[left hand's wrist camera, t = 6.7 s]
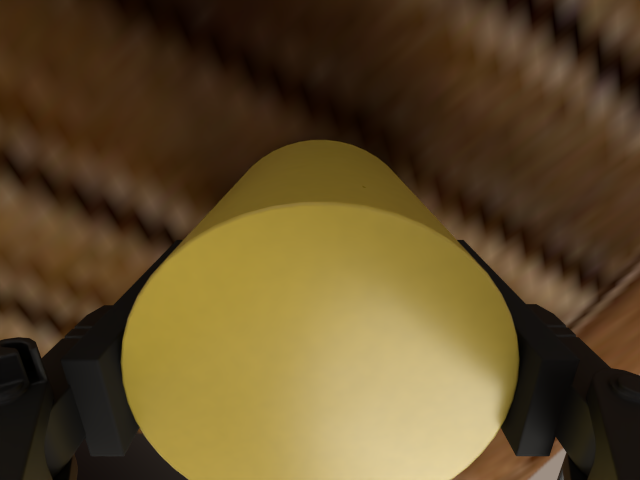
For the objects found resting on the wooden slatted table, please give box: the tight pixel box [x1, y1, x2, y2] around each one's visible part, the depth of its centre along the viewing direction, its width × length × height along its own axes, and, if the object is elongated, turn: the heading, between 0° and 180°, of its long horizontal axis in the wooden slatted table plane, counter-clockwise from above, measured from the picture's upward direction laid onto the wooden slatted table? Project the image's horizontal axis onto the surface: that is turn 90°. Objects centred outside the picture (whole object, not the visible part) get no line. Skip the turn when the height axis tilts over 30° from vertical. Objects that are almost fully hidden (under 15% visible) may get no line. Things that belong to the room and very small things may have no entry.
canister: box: [121, 140, 519, 480], centre depth 13 cm, size 9×9×10 cm
